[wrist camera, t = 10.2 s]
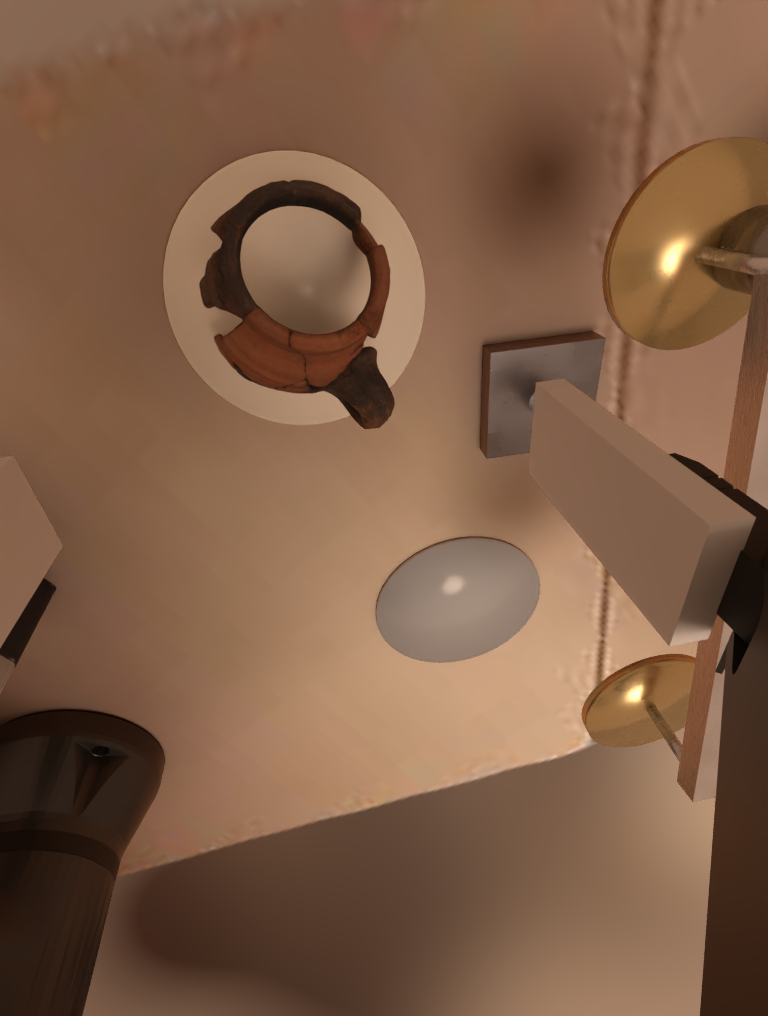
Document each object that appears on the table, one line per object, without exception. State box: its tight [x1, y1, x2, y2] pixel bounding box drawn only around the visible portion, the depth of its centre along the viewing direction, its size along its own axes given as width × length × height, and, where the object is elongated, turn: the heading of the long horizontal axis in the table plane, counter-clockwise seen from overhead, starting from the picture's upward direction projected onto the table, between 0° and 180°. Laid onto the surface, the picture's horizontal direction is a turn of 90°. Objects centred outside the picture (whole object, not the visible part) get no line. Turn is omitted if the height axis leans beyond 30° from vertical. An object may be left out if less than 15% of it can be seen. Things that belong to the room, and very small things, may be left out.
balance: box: [480, 137, 768, 802], centre depth 24 cm, size 7×26×21 cm, turn 4°
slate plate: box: [376, 537, 540, 663], centre depth 43 cm, size 14×14×1 cm
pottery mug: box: [199, 180, 394, 429], centre depth 26 cm, size 12×9×8 cm
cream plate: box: [163, 150, 425, 425], centre depth 28 cm, size 14×14×1 cm
